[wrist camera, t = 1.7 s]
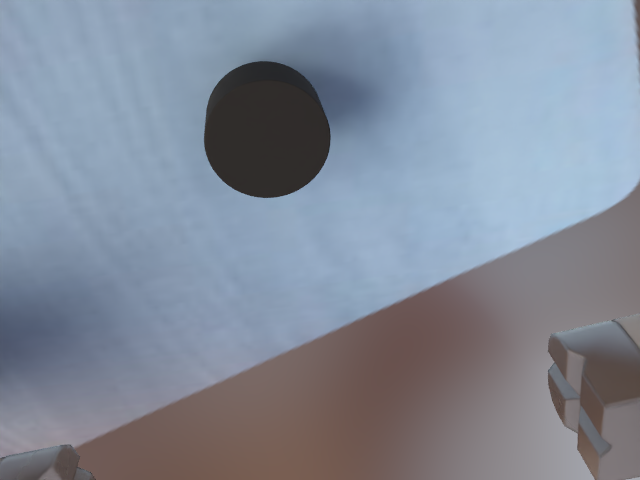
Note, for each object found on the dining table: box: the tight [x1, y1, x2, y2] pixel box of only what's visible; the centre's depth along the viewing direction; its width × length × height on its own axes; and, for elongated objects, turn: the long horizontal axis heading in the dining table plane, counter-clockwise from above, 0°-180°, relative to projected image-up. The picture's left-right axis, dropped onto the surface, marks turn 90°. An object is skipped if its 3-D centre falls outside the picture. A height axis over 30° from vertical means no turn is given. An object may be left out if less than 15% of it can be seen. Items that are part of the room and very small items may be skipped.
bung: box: [204, 61, 330, 198], centre depth 23 cm, size 5×5×4 cm
